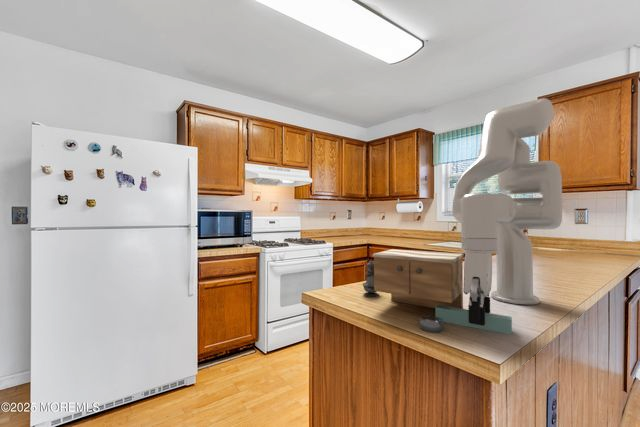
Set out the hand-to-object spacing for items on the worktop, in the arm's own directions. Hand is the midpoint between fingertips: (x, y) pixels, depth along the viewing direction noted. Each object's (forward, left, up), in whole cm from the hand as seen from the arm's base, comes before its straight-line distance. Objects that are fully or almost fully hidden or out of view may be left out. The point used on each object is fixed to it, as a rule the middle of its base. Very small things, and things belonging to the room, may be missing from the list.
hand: (479, 317), depth 69 cm
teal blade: (0, -2, -2) cm, 3 cm away
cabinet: (-4, -15, -2) cm, 16 cm away
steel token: (+8, -9, -2) cm, 12 cm away
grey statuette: (-11, -33, -2) cm, 35 cm away
